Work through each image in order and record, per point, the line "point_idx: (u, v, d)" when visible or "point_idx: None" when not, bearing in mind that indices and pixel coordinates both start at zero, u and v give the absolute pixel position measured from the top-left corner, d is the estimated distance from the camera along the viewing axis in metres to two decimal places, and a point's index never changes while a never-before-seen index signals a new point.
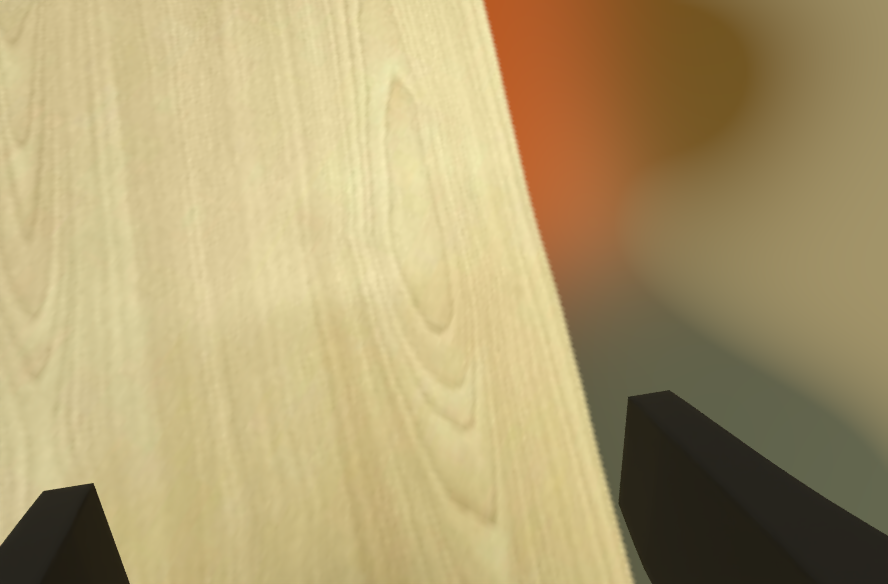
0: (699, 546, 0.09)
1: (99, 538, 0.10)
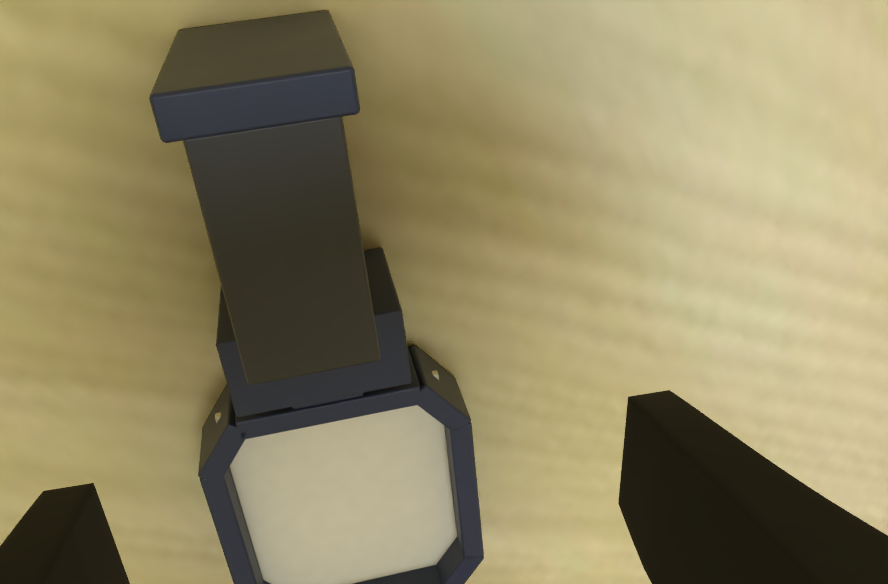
0: (699, 546, 0.09)
1: (98, 539, 0.10)
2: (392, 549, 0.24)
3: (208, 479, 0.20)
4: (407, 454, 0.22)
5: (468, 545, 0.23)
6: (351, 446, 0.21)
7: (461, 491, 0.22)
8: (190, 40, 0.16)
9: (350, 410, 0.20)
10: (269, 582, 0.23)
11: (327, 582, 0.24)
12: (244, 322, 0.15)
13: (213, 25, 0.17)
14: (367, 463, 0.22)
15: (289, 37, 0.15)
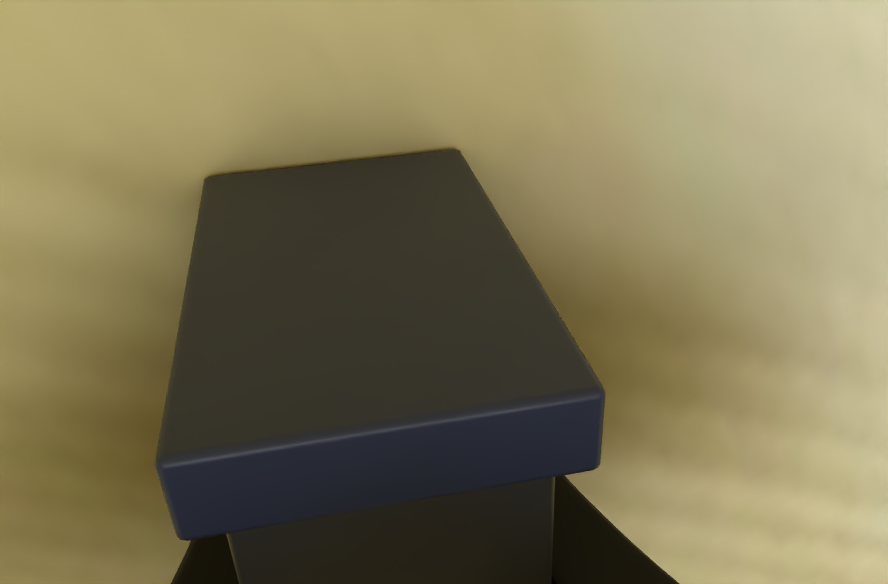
0: None
1: None
2: None
3: None
4: None
5: None
6: None
7: None
8: (230, 218, 0.09)
9: None
10: None
11: None
12: None
13: (266, 171, 0.10)
14: None
15: (418, 235, 0.08)
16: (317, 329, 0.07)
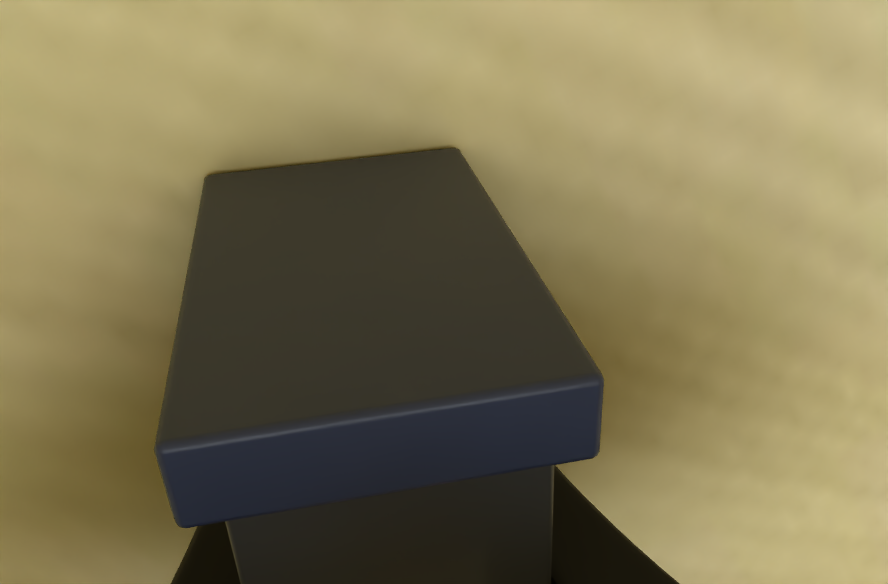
0: None
1: None
2: None
3: None
4: None
5: None
6: None
7: None
8: (230, 214, 0.09)
9: None
10: None
11: None
12: None
13: (266, 169, 0.10)
14: None
15: (417, 230, 0.08)
16: (316, 319, 0.07)
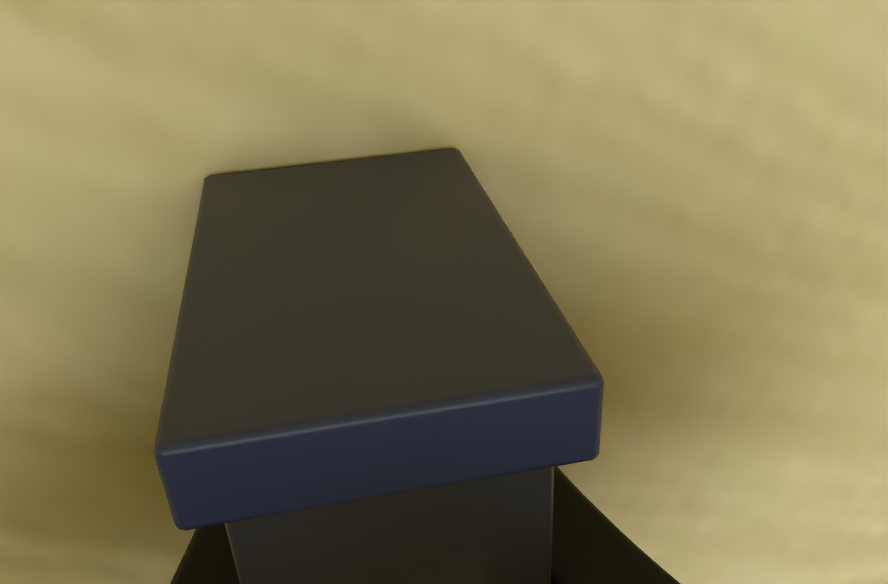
0: None
1: None
2: None
3: None
4: None
5: None
6: None
7: None
8: (230, 215, 0.09)
9: None
10: None
11: None
12: None
13: (265, 170, 0.10)
14: None
15: (417, 231, 0.08)
16: (316, 321, 0.07)
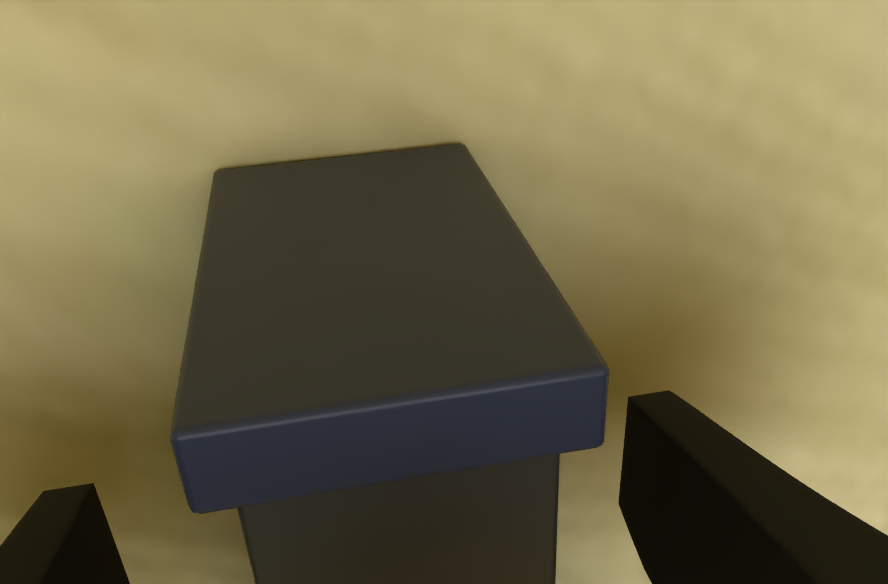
0: (699, 546, 0.09)
1: (98, 539, 0.10)
2: None
3: None
4: None
5: None
6: None
7: None
8: (239, 208, 0.09)
9: None
10: None
11: None
12: None
13: (274, 164, 0.10)
14: None
15: (424, 224, 0.08)
16: (326, 311, 0.07)
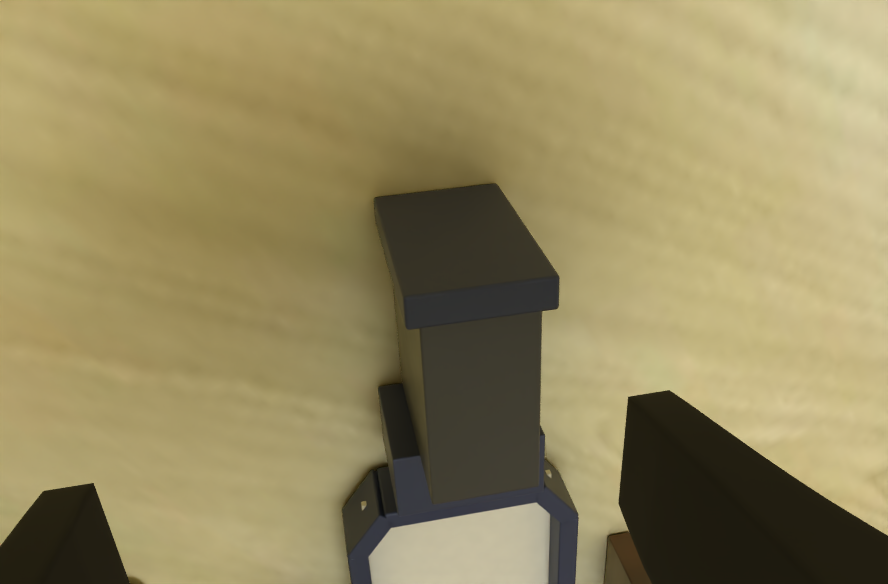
0: (699, 546, 0.09)
1: (98, 538, 0.10)
2: None
3: (354, 559, 0.23)
4: (516, 538, 0.25)
5: None
6: (470, 531, 0.25)
7: (562, 573, 0.25)
8: (395, 216, 0.19)
9: (481, 506, 0.23)
10: None
11: None
12: (439, 457, 0.18)
13: (403, 194, 0.20)
14: (481, 545, 0.25)
15: (483, 224, 0.18)
16: (448, 258, 0.17)
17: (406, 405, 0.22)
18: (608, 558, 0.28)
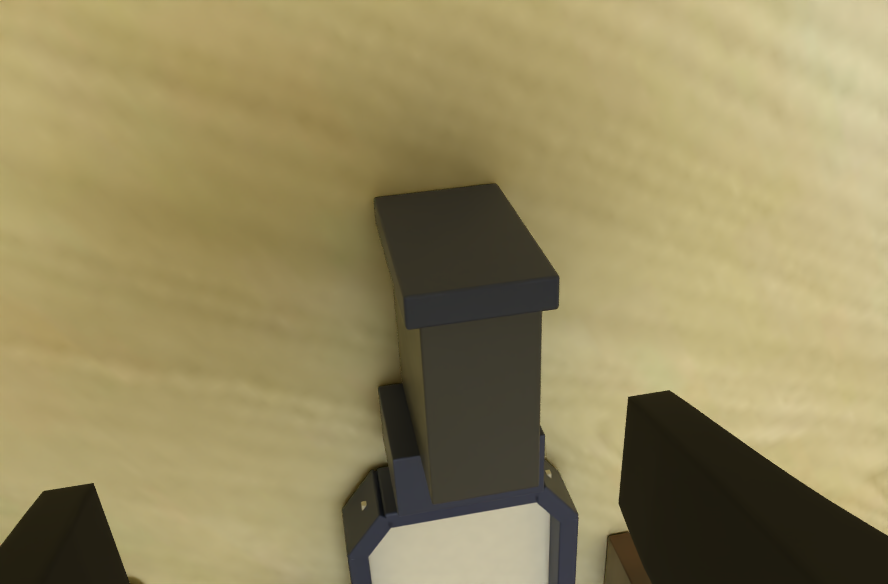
0: (699, 546, 0.09)
1: (98, 538, 0.10)
2: None
3: (354, 559, 0.23)
4: (516, 538, 0.25)
5: None
6: (470, 531, 0.25)
7: (562, 573, 0.25)
8: (395, 216, 0.19)
9: (481, 506, 0.23)
10: None
11: None
12: (439, 457, 0.18)
13: (403, 194, 0.20)
14: (481, 545, 0.25)
15: (483, 224, 0.18)
16: (448, 258, 0.17)
17: (406, 405, 0.22)
18: (608, 558, 0.28)
